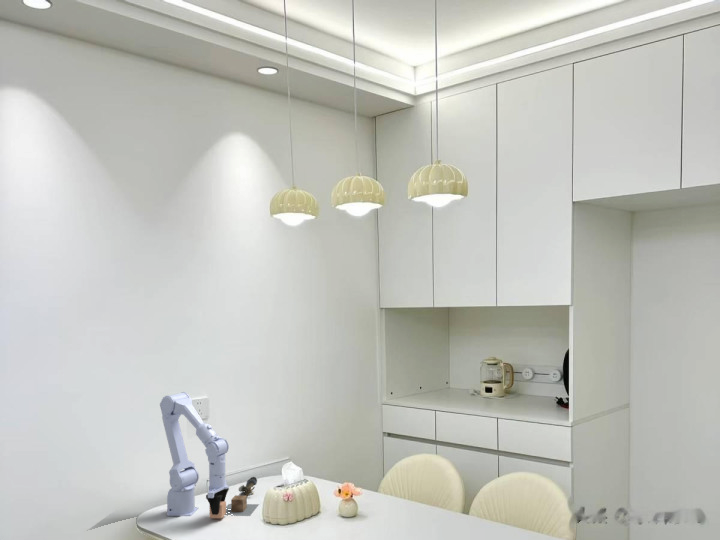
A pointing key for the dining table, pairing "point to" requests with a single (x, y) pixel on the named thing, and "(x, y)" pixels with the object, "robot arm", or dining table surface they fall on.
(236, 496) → the walnut block
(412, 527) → the dining table surface
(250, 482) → the eagle figurine
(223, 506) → the terracotta block
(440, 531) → the dining table surface
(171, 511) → the robot arm
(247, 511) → the mat
